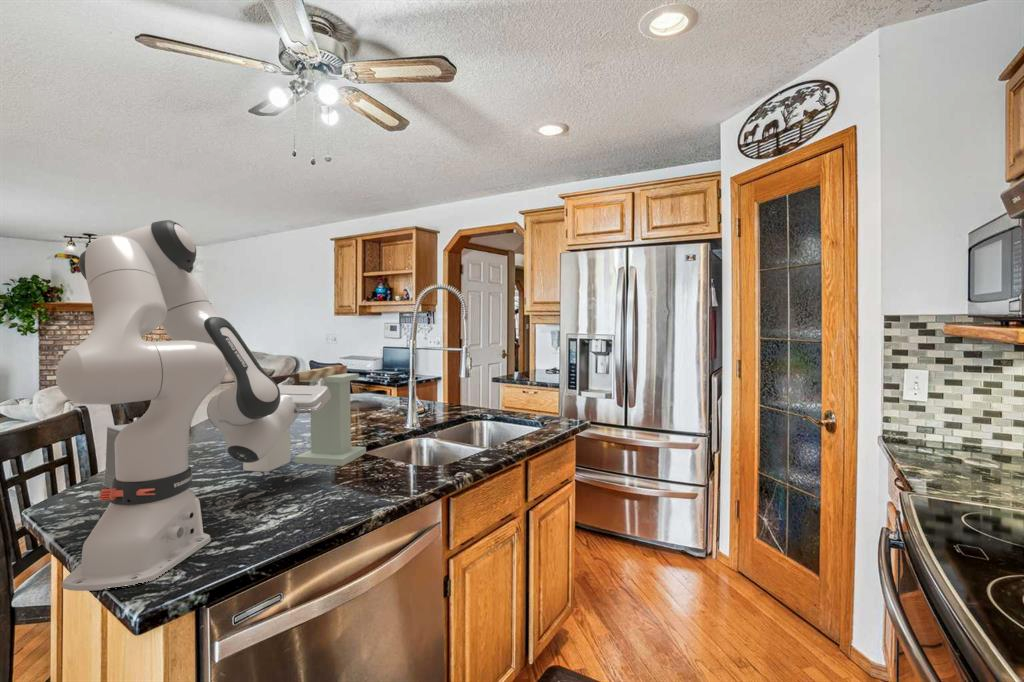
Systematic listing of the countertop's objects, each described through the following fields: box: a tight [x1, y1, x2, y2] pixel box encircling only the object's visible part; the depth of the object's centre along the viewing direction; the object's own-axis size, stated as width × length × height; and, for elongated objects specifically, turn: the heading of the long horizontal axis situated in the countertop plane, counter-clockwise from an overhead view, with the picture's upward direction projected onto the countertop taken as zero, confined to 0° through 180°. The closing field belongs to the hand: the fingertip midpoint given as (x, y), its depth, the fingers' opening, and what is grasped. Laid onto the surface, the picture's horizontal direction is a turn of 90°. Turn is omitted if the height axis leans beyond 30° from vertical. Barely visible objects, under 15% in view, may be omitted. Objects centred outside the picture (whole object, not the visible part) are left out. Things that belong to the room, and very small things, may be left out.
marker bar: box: [298, 364, 348, 381], centre depth 146 cm, size 20×4×2 cm, turn 169°
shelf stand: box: [293, 372, 367, 467], centre depth 150 cm, size 14×16×26 cm
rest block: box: [242, 426, 292, 473], centre depth 142 cm, size 10×8×18 cm
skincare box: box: [104, 423, 129, 489], centre depth 125 cm, size 8×7×16 cm
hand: (306, 379), depth 138 cm, fingers open, 8 cm apart
